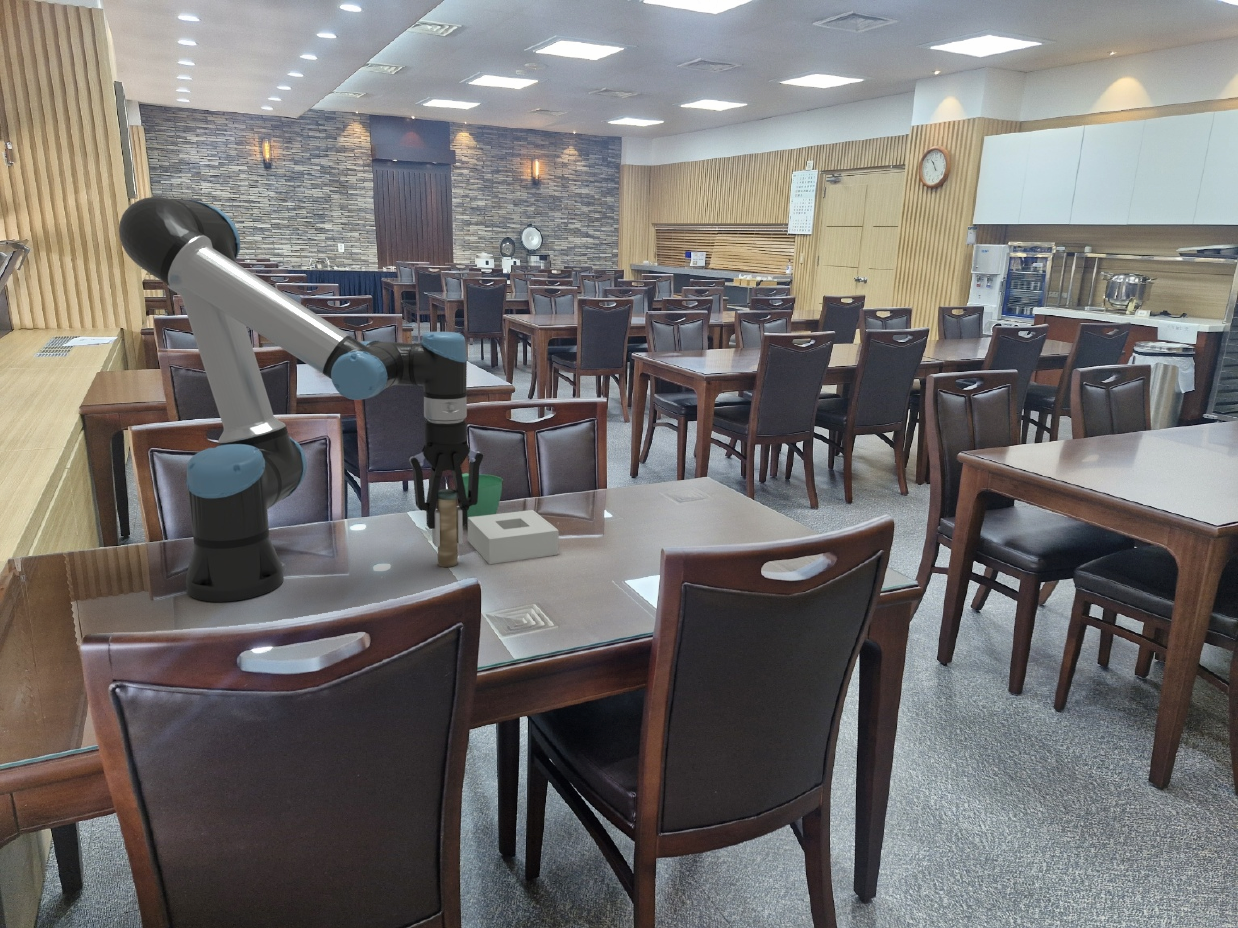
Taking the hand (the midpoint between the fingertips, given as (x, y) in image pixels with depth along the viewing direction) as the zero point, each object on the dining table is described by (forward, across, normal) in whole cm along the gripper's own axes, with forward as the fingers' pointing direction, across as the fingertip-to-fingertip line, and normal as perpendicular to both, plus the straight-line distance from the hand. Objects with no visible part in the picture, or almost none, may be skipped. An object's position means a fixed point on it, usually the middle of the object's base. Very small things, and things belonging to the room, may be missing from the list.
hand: (447, 542), depth 151 cm
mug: (+4, +12, +22) cm, 25 cm away
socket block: (+4, +14, +4) cm, 15 cm away
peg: (+4, 0, 0) cm, 4 cm away
